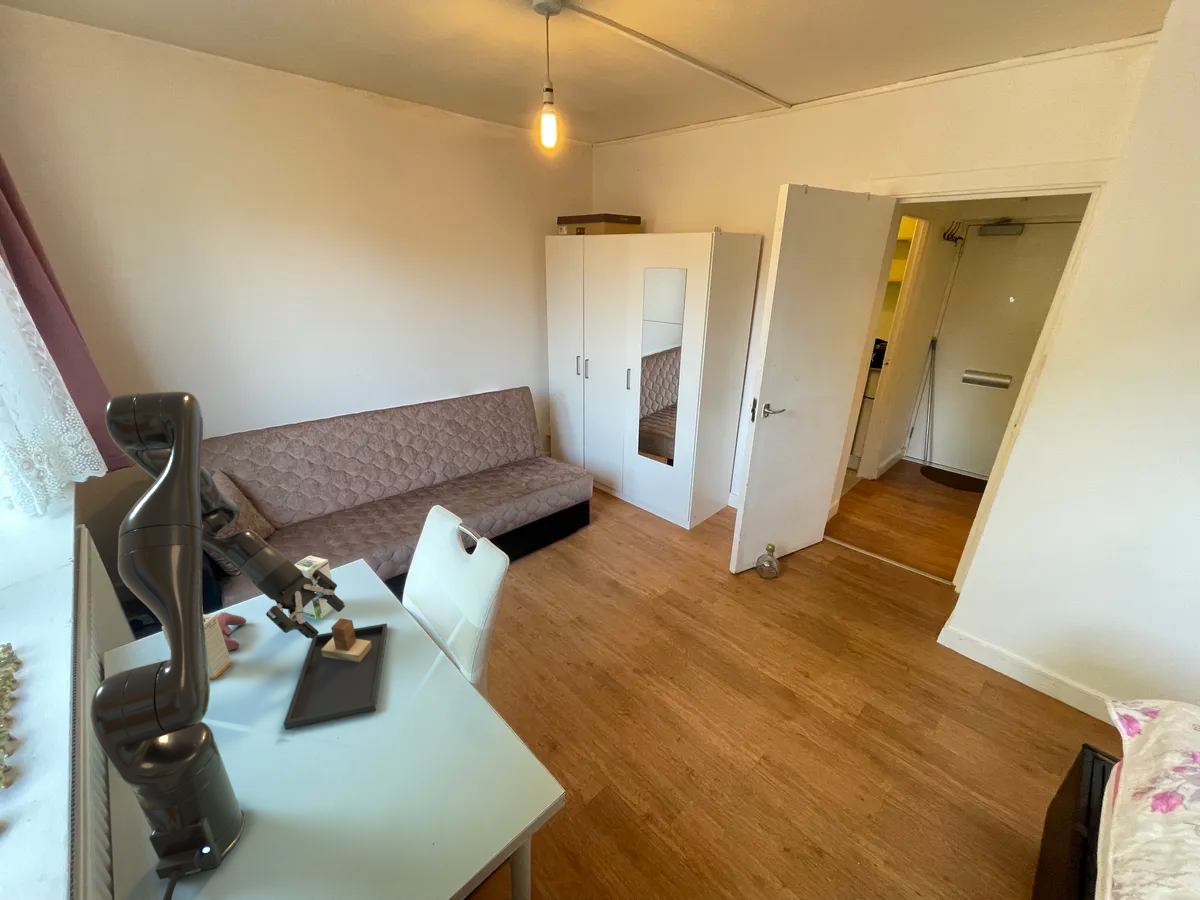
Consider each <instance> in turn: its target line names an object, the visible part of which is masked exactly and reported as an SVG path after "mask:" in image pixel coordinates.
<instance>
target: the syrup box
mask: <svg viewBox="0 0 1200 900" xmlns="http://www.w3.org/2000/svg"><path fill="white" fill-rule="evenodd" d="M294 565H295V566H296V567H297V568H298V569H299V570H301V571H302V573H303V575H304V576H305V577H307V578H309V577H310V576H311V574H312V573H313V572H315V571H316V570H319V571H320V572H322V573H323V574H324V575H325V576H327V577H328V578H329V579H330V580H332V581H333V579H332V574H331V569H330V563H329V559H328V558H323V557H319V556H315V555H308V556H306V557H304V558H302V559H301V560H299V561H297V562H296V563H294ZM313 586H317V587H320V586H318V585H317V584H316V583H314V584H313ZM315 593H316V592H315ZM326 601H327V600H322V599H316V600H313V599H312V600H311V601H310V602H309V603H308V604H307V605H306V606H305V607H304V608H303V617H304V616H305V617H308V618H311V619H315V620H318V621H320V620H321V619H322V618H324V617H325V616H326V615H327V614H329V613H330V612H332V610H335V609H334V608H333V607H331V606H330V605H329V604H328V603H327V602H326Z"/></svg>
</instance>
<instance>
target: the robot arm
mask: <svg viewBox="0 0 1200 900" xmlns="http://www.w3.org/2000/svg"><path fill="white" fill-rule="evenodd" d="M104 409H105V410H104V422H105V425H106V429H107V432H108V435H109V437H110V438H111V440H112V441H113V443H114V444H115V445H116V446H117V448H118V449H120V451H122V452H123V453H124V454H125V455H126V456H127V457H128V458H129V459H130V460H131V461H133V463H135V464H136V465H137V466H138V467H139V468H141V469H142V470H143V471H144V472H146V474H148V475H149V476H150V477H151V478H153V479H154V482H153V483H152V484H151V486H150V487H149V488H147V490H146V491H145V492H144V493H143V494H142V495H141V497H139V499H138V500H137V501H136V502H135V503H134V505H133V506H132V507H131V508H130V510H129V511H128V512H127V514H126V515H125V517H124V518H123V520H122V522H121V524H120V525H119V530H118V542H117V543H118V545H117V546H118V547H117V548H118V549H117V571H118V574H119V577H120V579H121V580H122V582H123V583H124V584H125V586H126V587H127V588H128V589H129V590H130V592H132V593H133V594H134V596H135V597H136V598H137V599H138V600H140V601H141V602H142V603H143V605H145V606H146V607H147V608H148V609H149V610H150V611H151V612H152V614H153V615H154V616H155V617H156V618H157V619H158V620H159V622H160V624H161V625H162V626H163V627H164V628H165V630H166V633H167V635H168V639H169V643H170V648H169V651H170V650H171V651H170V658H169V659H166V660H162V661H158V662H153V663H150V664H146V665H143V666H142V665H141V666H138V667H135V668H130V669H126V670H122V671H119V672H115V673H114V674H111V675H109V676H107V677H106V678H104V679H103V681H101V682H100V683H99V684H98V686H97V687H96V689H95V691H94V693H93V695H92V699H91V703H90V721H91V726H92V729H93V732H94V735H95V738H96V740H97V742H98V743H99V745H100V747H101V749H102V750H103V752H104V754H105V755H106V756H107V758H108V760H109V762H110V763H111V765H112V766H113V768H114V769H115V771H116V772H117V774H118V776H119V778H120V779H121V781H122V782H123V783H125V784H126V785H129V786H130V788H131V790H132V792H133V794H134V796H135V798H136V800H137V803H138V805H139V807H140V809H141V811H142V813H143V815H144V818H145V819H146V822H147V824H148V826H149V829H150V830H151V833H150V835H149V837H148V840H149V841H150V844H151V846H152V848H153V850H154V852H155V855H156V856H157V858H158V860H159V861H158V863H157V866H156V868H155V870H154V872H155V873H156V876H157V877H158V879H159V880H160V881H161V880H164V879H168V880H169V881H168V883H167V886H166V889H165V892H164V894H163V895H164V896H163V899H162V900H172V897H173V894H174V891H175V888H176V885H177V882H178V879H179V878H181V877H186V876H189V875H195V874H197V873H200V872H203V871H207V870H211V869H215V868H218V867H219V866H220V865H221V863H222V861H223V858H224V857H225V856H226V855H227V854H228V853H229V852H230V851H231V850H232V849H233V847H235V845H236V844H237V842H238V841H239V839H240V837H241V836H242V834H243V831H244V828H245V821H246V820H245V819H246V818H245V814H244V813H243V810H242V808H241V806H240V804H239V801H238V798H237V796H236V793H235V790H234V788H233V786H232V782H231V779H230V777H229V774H228V772H227V769H226V765H225V764H224V761H223V758H222V755H221V753H220V750H219V747H218V744H217V742H216V738H215V734H214V733H213V731H212V729H211V727H210V726H209V725H208V724H207V723H206V722H203V719H204V718H205V716H206V715H207V712H208V709H209V705H210V697H211V679H210V678H209V666H208V657H207V648H206V638H205V629H204V619H203V614H204V611H203V610H204V608H203V563H204V561H203V560H204V559H203V558H204V556H203V555H204V548H206V549H208V550H209V551H212V552H213V553H215V554H217V555H219V556H221V557H222V558H224V559H225V561H227V562H228V563H230V564H231V565H232V566H233V567H234V568H236V569H237V570H238V572H240V573H241V574H242V575H243V577H244V578H245V579H246V580H248V582H250V583H251V584H252V585H253V586H255V588H257V589H258V590H260V592H262V593H263V594H264V595H265V596H266V597H267V598H269V600H272V601H274V602H275V603H276V605H273V606H271V608H269V610H267V611H266V613H265V615H266V617H267V618H269V620H271V622H273V624H275V625H276V627H278V628H279V629H280V630H281V631H282V632H283V633H284V634H288V633H290V632H292V631H294V630H296V631H298V632H299V633H300V634H301V635H303V636H304V637H305V638H306V639H311V640H312V639H313V638H314V637H315V636H316V635H319V633H320V632H319V630H317V629H316V628H315V627H314V626H313V625H312V624H310V623H309V622H308V621H307V620H304V615H303V608H304V607H305V606H306V605H307V604H308V603H309V602H310V601H311V600H312V599H313V600H316V599H322V600H327V601H326V602H327V603H328V604H329V605H330V606H331V607H333V608H334V609H333V610H335V611H336V612H338V613H340V612H341V611H342V610H344V608H345V607H346V605H345V603H344V601H343V600H342V599H341V598H340V597H338V596H337V595H336V594H335V591H336V589H337V587H338V584H337V583H336V582H334V581H333V579H332V580H330V579H329V578H328V577H327V576H325V575H324V574H323V573H322V572H320V571H319V570H316V571H315V572H313V573H312V574H311V576H310V577H309V578H307V577H305V576H304V575H303V573H302V571H301V570H299V569H298V568H297V567H296V566H295V563H293V562H291V561H290V559H288V558H287V556H285V555H284V554H283V553H281V552H280V551H279V550H277V549H276V548H274V547H272V545H270V544H269V543H268V542H267V541H265V540H264V539H263V538H262V536H260V535H259V534H257V533H256V532H255V531H253V530H252V529H248V528H247V529H242V530H241V531H238V532H236V533H235V534H232V535H230V536H226V537H225V536H217V535H219V534H220V533H221V532H223V531H224V530H226V529H227V528H229V527H230V526H231V525H233V524H234V523H236V522H237V520H238V519H239V518H240V515H241V508H240V506H239V505H238V504H237V503H236V502H235V501H234V500H232V498H230V497H229V496H227V495H225V494H223V493H222V492H221V491H220V490H219V489H218V487H217V485H216V483H215V480H214V479H213V476H212V475H211V473H210V472H209V471H208V470H207V469H206V468H204V466H202V453H203V439H204V416H203V410H202V406H201V403H200V402H199V399H198V398H197V397H196V396H195V395H194V394H192V393H190V392H187V391H157V392H155V391H154V392H134V393H124V394H118V395H114V396H112V397H111V398H109V400H108V401H107V403H106V405H105V408H104ZM314 583H316V584H317V585H318V586H320V587H317V586H313V584H314ZM315 592H316V593H315ZM284 610H287V612H288V615H287V614H286V613H285V612H284Z"/></svg>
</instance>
